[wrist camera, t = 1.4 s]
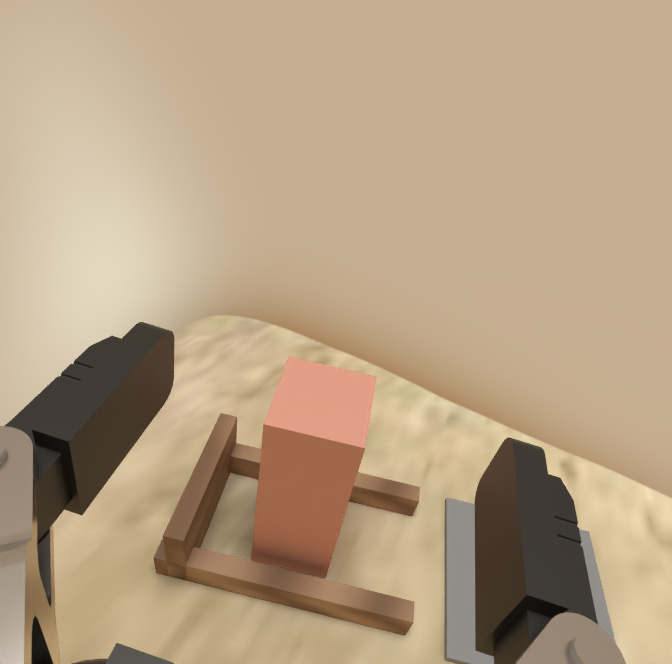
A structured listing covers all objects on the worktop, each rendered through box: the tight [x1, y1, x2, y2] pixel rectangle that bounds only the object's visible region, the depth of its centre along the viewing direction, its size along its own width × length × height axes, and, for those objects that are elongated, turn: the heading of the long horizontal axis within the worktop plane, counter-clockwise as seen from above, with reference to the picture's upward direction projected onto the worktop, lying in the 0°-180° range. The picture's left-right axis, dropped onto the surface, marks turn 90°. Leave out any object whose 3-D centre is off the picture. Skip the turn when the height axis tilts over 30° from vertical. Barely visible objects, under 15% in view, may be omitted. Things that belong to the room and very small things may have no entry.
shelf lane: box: [154, 413, 420, 635], centre depth 33 cm, size 16×9×5 cm, turn 79°
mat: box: [445, 498, 615, 664], centre depth 34 cm, size 11×11×1 cm
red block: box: [251, 357, 376, 578], centre depth 30 cm, size 5×5×14 cm
